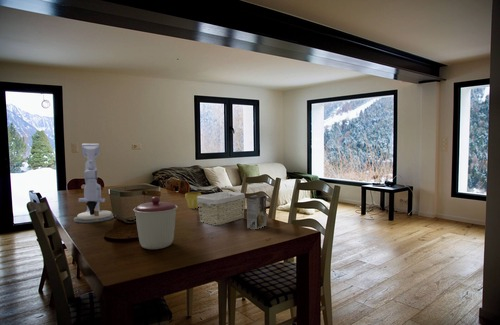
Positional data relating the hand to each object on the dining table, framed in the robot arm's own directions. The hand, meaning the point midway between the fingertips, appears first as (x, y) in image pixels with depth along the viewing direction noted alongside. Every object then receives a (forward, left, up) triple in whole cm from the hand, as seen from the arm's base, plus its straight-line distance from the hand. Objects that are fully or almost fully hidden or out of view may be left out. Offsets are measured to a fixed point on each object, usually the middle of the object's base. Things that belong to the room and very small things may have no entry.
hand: (92, 214), depth 187 cm
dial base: (-5, +2, -4) cm, 7 cm away
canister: (+66, +19, -4) cm, 68 cm away
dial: (-5, +2, -2) cm, 6 cm away
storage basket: (+39, +62, -4) cm, 74 cm away
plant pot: (-3, +62, -4) cm, 62 cm away
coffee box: (+63, +71, -4) cm, 95 cm away
